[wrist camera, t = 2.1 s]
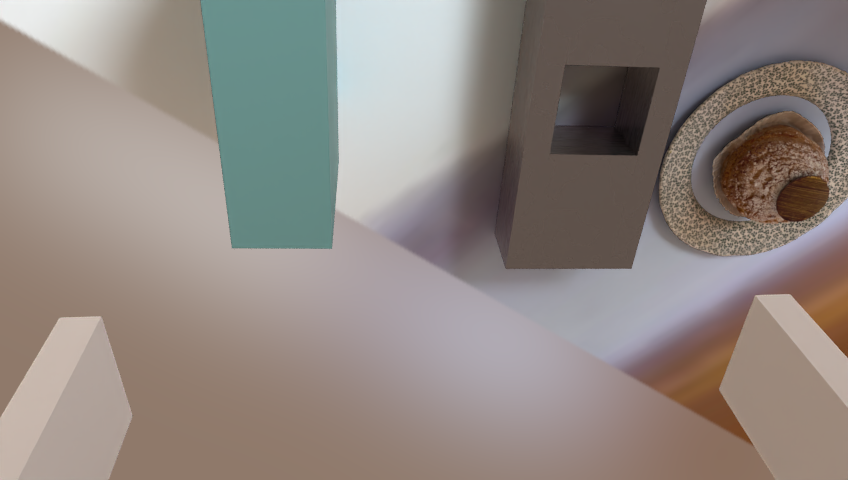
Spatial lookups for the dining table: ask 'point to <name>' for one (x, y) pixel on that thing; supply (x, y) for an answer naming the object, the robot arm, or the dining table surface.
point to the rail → (590, 131)
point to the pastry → (762, 163)
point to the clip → (276, 118)
